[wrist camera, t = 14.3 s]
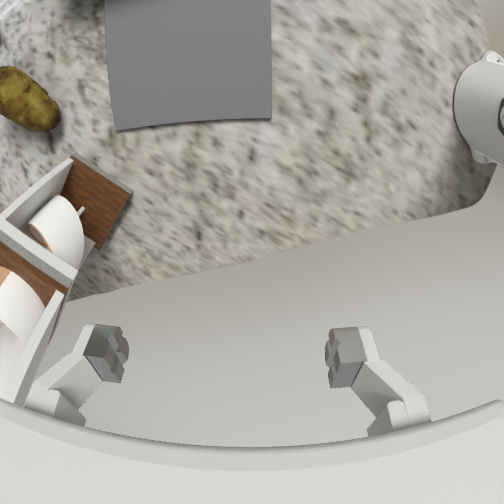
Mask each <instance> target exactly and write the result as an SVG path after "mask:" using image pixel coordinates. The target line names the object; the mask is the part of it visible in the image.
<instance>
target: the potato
mask: <svg viewBox="0 0 504 504" xmlns="http://www.w3.org/2000/svg"><path fill="white" fill-rule="evenodd" d="M0 114H1V115H3V116H5V117H6V118H8V119H10V120H12V121H14V122H16V123H18V124H20V125H21V126H23V127H25V128H27V129H30V130H33V131H37V132H47V131H50V130H51V129H53V128H54V127H55V126H56V125H57V124H58V123H59V122H60V110H59V107H58V105H57V103H56V102H55V101H53V100H51V99H50V98H49V96H48V93H47V92H46V91H45V90H44V89H43V88H41V86H40V85H39V84H38V83H37V82H36V81H34V80H33V79H32V78H31V77H29V76H28V75H26V74H25V73H23V72H22V71H21V70H19V69H18V68H15V67H13V66H5V67H0Z"/></svg>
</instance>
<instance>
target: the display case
mask: <svg viewBox="0 0 504 504" xmlns="http://www.w3.org/2000/svg"><path fill="white" fill-rule="evenodd" d="M132 192H133V190H132V189H130V188H129V187H127V186H126V185H124V184H123V183H121V182H120V181H118V180H117V179H115V178H114V177H112V176H111V175H109V174H108V173H106V172H105V171H103V170H102V169H100V168H99V167H97V166H96V165H94V164H92V163H91V162H89V161H88V160H86V159H85V158H83V157H82V156H80V155H79V154H77V153H75V154H73V155H72V156H71V157H69V158H68V159H66V160H65V161H64V162H62V163H61V164H60V165H58V166H57V167H56V168H54V169H53V170H52V171H50V172H49V173H48V174H46V175H45V176H44V177H43V178H41V179H40V180H39V181H38V182H36V183H35V184H34V185H33V186H32V187H30V188H29V189H28V190H27V191H26V192H24V193H23V194H22V195H21V196H20V197H19V198H17V199H16V200H15V201H14V202H13V203H12V204H11V205H10V206H9V207H7V208H6V209H5V210H4V211H3V212H2V213H1V214H0V398H2V399H4V400H7V401H9V402H12V403H14V404H17V405H19V406H22V407H23V405H24V402H25V399H26V397H27V394H28V392H29V389H30V386H31V384H32V381H33V379H34V376H35V374H36V372H37V369H38V367H39V365H40V362H41V360H42V358H43V355H44V353H45V351H46V349H47V346H48V344H49V342H50V340H51V338H52V336H53V334H54V332H55V330H56V328H57V326H58V323H59V320H60V317H61V314H62V312H63V309H64V306H65V304H66V301H67V298H68V296H69V293H70V291H71V288H72V286H73V283H74V281H75V278H76V276H77V273H78V270H79V269H80V267H81V265H82V264H83V262H84V261H85V259H86V257H87V256H88V254H89V253H90V251H91V250H92V248H93V246H94V247H95V248H97V249H99V250H100V249H101V247H102V245H103V244H104V242H105V240H106V238H107V236H108V234H109V233H110V231H111V229H112V227H113V225H114V223H115V221H116V220H117V218H118V216H119V214H120V213H121V211H122V209H123V207H124V206H125V204H126V202H127V200H128V199H129V197H130V195H131V194H132Z"/></svg>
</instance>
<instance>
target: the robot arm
mask: <svg viewBox="0 0 504 504" xmlns="http://www.w3.org/2000/svg"><path fill="white" fill-rule="evenodd" d="M454 111H455V118H456V122H457V125H458V128H459V130H460V132H461V134H462V136H463V137H464V138H465V140H466V141H467V143H468V144H469V146H470V149H471V153H472V157H473V159H474V161H475V162H477V163H480V164H483V163H497V164H498V165H500V166H502V167H504V59H503V58H502V57H501V56H499V55H498V54H497V53H496V52H493V51H490V50H489V51H487V52H486V53H485V54H484V56H483V57H482V59H481V60H480V61H478V62H476V63H474V64H472V65H470V66H469V67H467V68H466V69H465V70H464V72H463V73H462V75H461V76H460V78H459V80H458V83H457V86H456V90H455V96H454ZM329 339H330V340H328V341H327V342H326V346H325V361H326V365H327V366H328V367H329V368H330V369H329V373H328V378H329V383H330V388H342V387H351V389H352V390H353V391H354V392H355V393H356V394H357V395H358V397H359V398H360V399H361V400H362V401H363V403H364V404H365V405H366V406H367V407H368V408H369V410H370V411H371V412H372V413H373V414H374V415H375V416H376V419H375V421H374V422H373V423H372V424H371V426H370V427H369V428H368V429H367V432H368V437H365V438H359V439H353V440H346V441H338V442H330V443H321V444H311V445H299V446H281V447H219V446H202V445H201V446H200V445H190V444H179V443H170V442H162V441H154V440H148V439H141V438H135V437H130V436H125V435H120V434H115V433H110V432H105V431H101V430H96V429H92V428H88V427H84V426H85V422H86V419H85V417H84V416H83V415H82V414H81V413H80V412H79V411H78V409H79V408H80V407H81V406H82V404H84V403H85V401H86V400H87V399H88V398H89V397H90V396H91V395H92V394H93V392H94V391H95V390H96V389H97V388H98V387H99V386H100V385H101V384H102V383H103V381H108V382H116V383H121V380H122V376H123V373H124V368H123V366H122V365H123V364H124V363H125V362H126V361H127V359H128V355H129V346H128V343H127V340H126V339H125V338H124V337H122V330H121V328H120V327H116V326H107V325H99V324H90V323H87V324H86V325H84V327H83V329H82V331H81V334H80V336H79V338H78V341H77V343H76V345H75V348H74V350H73V352H72V354H68V355H67V356H65V357H64V358H63V359H62V360H61V361H59V362H58V363H57V364H56V365H54V366H53V367H52V368H51V369H50V370H49V371H47V372H46V373H45V374H44V375H42V376H41V377H40V378H39V379H38V380H36V381H35V382H34V383H33V385H32V388H31V390H30V393H29V395H28V398H27V401H26V404H25V406H24V407H22V406H19V405H17V404H14V403H12V402H9V401H7V400H4V399H2V398H0V504H504V402H503V401H501V400H494V401H491V402H489V403H486V404H484V405H481V406H479V407H476V408H473V409H471V410H468V411H465V412H463V413H459V414H456V415H453V416H451V417H448V418H444V419H441V420H437V421H434V422H432V421H431V418H430V414H429V411H428V408H427V404H426V401H425V398H424V395H423V394H422V393H421V392H420V391H419V390H418V389H417V388H416V387H414V386H413V385H412V384H411V383H410V382H409V381H408V380H407V379H405V378H404V377H403V376H402V375H401V374H400V373H398V372H397V371H396V370H395V369H394V368H393V367H392V366H391V365H389V364H388V363H387V362H386V361H385V360H380V357H379V354H378V350H377V347H376V344H375V341H374V338H373V335H372V332H371V329H370V327H368V326H363V327H347V328H335V329H331V330H330V332H329Z"/></svg>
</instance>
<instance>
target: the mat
mask: <svg viewBox="0 0 504 504" xmlns="http://www.w3.org/2000/svg"><path fill="white" fill-rule="evenodd" d="M104 14H105V38H106V53H107V65H108V76H109V86H110V94H111V102H112V110H113V117H114V124H115V130H116V131H118V130H124V129H130V128H137V127H144V126H152V125H160V124H169V123H179V122H190V121H202V120H218V119H241V118H272V65H271V6H270V0H104Z"/></svg>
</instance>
